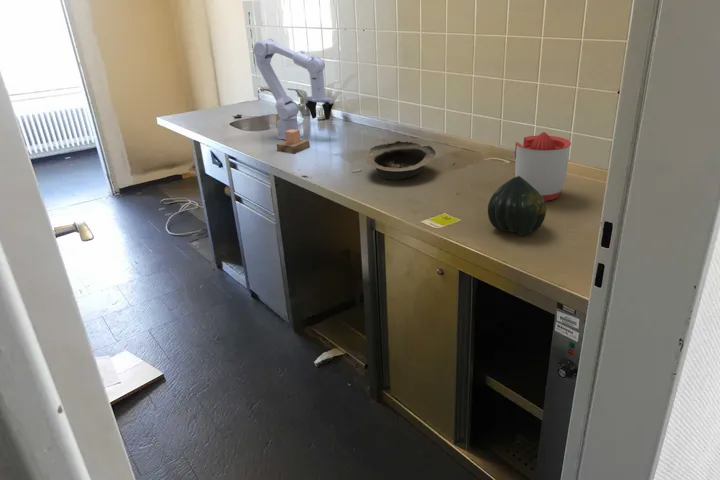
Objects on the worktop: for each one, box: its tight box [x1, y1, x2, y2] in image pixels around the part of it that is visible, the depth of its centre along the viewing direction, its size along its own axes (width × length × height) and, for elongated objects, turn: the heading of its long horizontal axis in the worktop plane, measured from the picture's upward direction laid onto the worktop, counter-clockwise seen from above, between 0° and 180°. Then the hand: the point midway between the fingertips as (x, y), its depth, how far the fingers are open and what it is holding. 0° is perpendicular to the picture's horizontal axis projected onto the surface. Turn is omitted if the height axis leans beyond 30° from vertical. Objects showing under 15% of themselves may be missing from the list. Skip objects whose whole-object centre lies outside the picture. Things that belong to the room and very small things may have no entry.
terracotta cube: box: [284, 129, 302, 144], centre depth 231 cm, size 4×4×5 cm
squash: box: [487, 176, 547, 236], centre depth 145 cm, size 14×15×15 cm
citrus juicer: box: [510, 131, 572, 202], centre depth 165 cm, size 16×17×20 cm
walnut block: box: [276, 139, 311, 155], centre depth 233 cm, size 10×10×4 cm
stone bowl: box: [365, 140, 436, 181], centre depth 193 cm, size 25×25×9 cm
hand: (320, 118), depth 241 cm, fingers open, 7 cm apart
